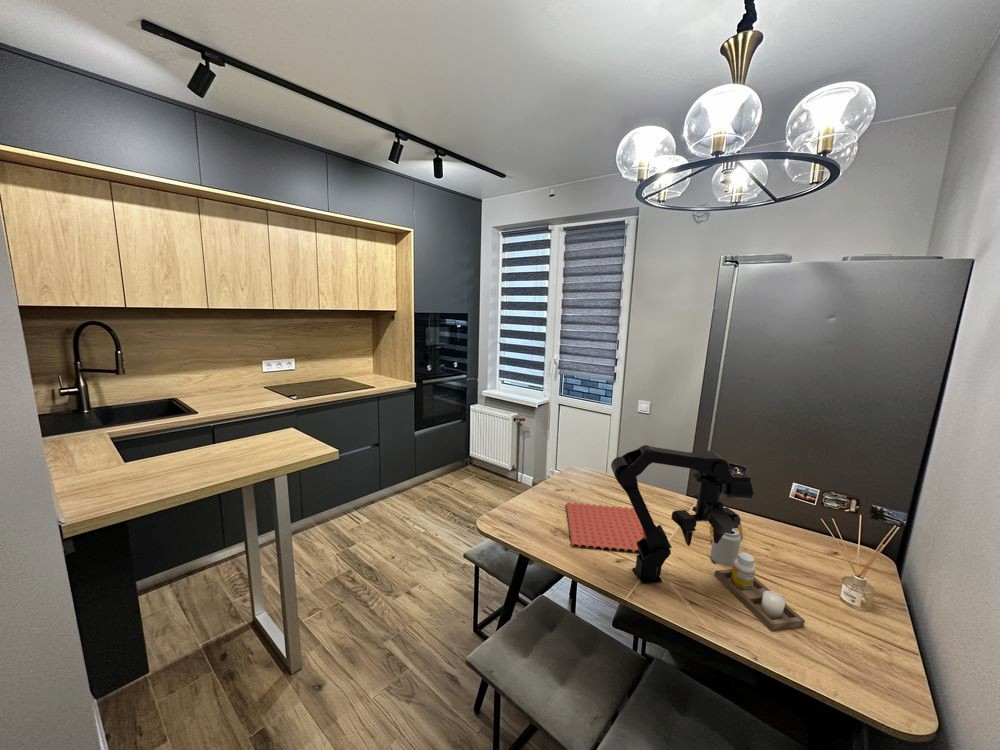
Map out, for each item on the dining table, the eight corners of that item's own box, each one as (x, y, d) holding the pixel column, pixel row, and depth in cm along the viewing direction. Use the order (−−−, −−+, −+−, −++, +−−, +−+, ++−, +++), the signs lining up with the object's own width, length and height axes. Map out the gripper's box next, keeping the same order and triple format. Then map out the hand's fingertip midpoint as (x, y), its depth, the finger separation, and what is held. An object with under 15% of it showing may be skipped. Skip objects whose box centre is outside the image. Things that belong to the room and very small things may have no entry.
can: (723, 571, 120) (728, 537, 118) (704, 556, 128) (709, 523, 125) (741, 567, 122) (747, 534, 120) (722, 553, 130) (727, 520, 127)
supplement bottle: (732, 576, 116) (737, 548, 114) (753, 585, 113) (758, 556, 111) (728, 586, 112) (733, 556, 110) (750, 595, 109) (755, 565, 107)
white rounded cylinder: (771, 621, 100) (774, 605, 99) (756, 607, 105) (759, 591, 104) (786, 619, 101) (790, 603, 100) (771, 605, 105) (774, 589, 104)
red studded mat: (635, 512, 154) (636, 507, 154) (656, 557, 127) (657, 551, 127) (565, 506, 157) (566, 502, 157) (571, 549, 130) (572, 543, 129)
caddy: (769, 634, 97) (771, 624, 97) (713, 579, 117) (715, 570, 116) (802, 630, 99) (805, 620, 98) (742, 576, 118) (743, 567, 118)
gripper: (699, 512, 101) (691, 564, 104) (760, 508, 104) (751, 559, 107) (673, 491, 112) (667, 539, 115) (729, 488, 115) (722, 535, 118)
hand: (701, 543), depth 113 cm, fingers open, 9 cm apart
